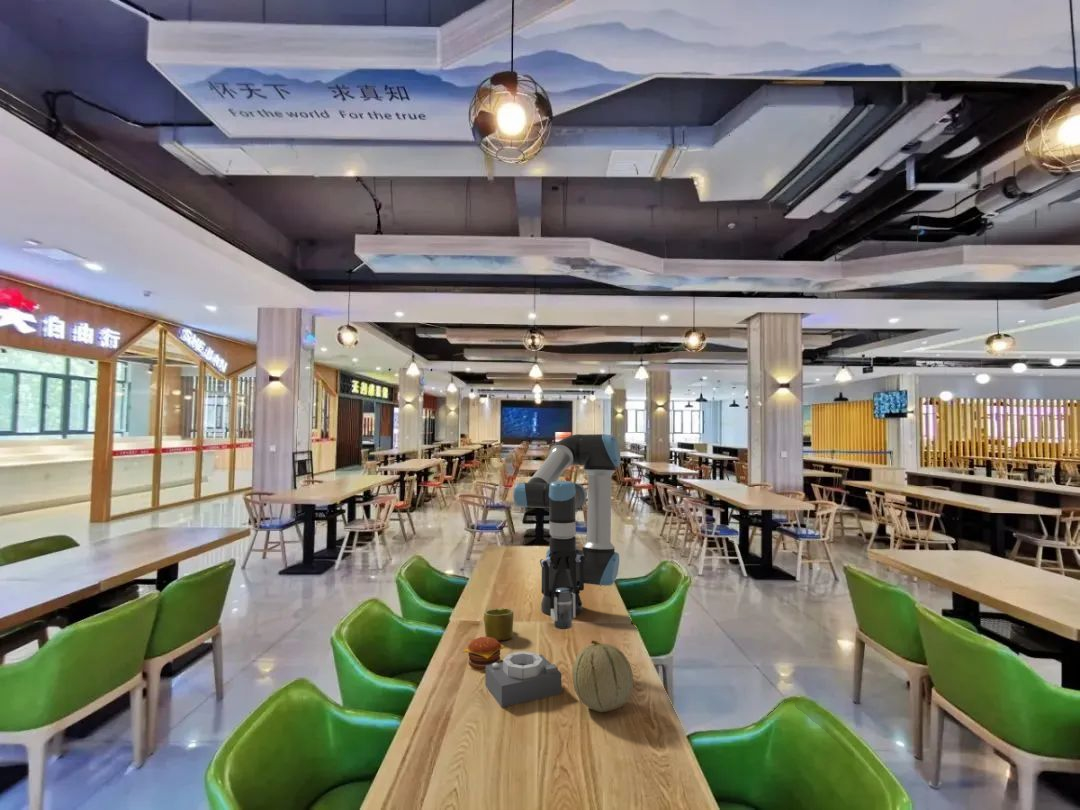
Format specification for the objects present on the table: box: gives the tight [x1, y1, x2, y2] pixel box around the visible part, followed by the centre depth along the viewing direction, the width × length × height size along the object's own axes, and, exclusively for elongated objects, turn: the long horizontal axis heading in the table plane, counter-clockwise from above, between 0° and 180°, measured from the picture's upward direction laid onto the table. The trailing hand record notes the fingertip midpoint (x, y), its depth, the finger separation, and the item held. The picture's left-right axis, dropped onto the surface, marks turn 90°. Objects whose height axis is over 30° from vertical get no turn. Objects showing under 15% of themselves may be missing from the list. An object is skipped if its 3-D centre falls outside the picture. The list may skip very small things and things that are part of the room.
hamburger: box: [462, 636, 506, 670], centre depth 151 cm, size 9×10×7 cm
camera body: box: [485, 650, 562, 708], centre depth 135 cm, size 16×12×8 cm
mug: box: [483, 607, 514, 642], centre depth 170 cm, size 12×10×10 cm
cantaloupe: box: [571, 639, 634, 713], centre depth 126 cm, size 15×15×15 cm
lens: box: [553, 588, 573, 630], centre depth 151 cm, size 5×5×10 cm
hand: (563, 617), depth 151 cm, fingers closed on lens, 5 cm apart
